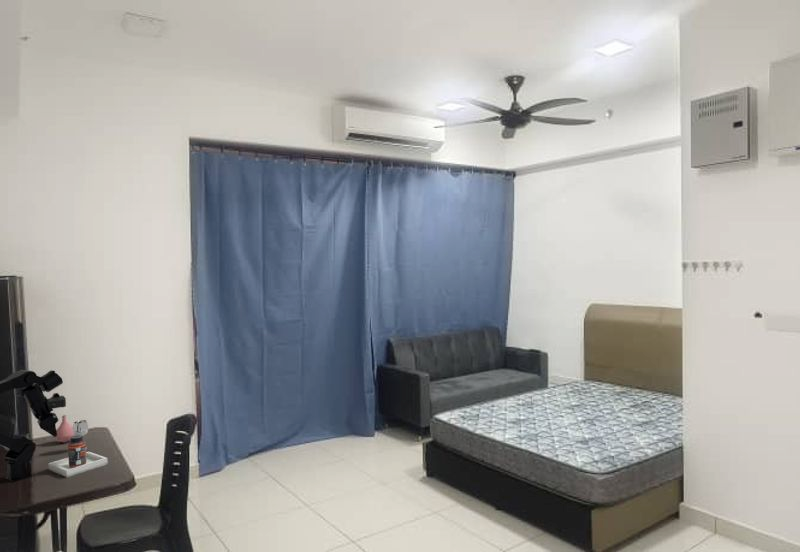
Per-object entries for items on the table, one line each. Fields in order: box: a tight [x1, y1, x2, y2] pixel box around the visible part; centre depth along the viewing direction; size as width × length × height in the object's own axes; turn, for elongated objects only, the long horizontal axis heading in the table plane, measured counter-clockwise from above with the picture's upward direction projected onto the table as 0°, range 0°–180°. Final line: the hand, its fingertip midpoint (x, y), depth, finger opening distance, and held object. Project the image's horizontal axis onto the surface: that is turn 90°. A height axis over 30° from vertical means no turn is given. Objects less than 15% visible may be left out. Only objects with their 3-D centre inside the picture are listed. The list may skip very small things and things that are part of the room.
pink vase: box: [54, 414, 75, 444], centre depth 243 cm, size 8×8×12 cm
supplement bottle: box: [67, 435, 87, 467], centre depth 212 cm, size 6×6×11 cm
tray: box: [48, 451, 109, 478], centre depth 212 cm, size 15×15×2 cm
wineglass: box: [72, 419, 89, 450], centre depth 233 cm, size 6×6×12 cm
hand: (53, 431), depth 214 cm, fingers open, 9 cm apart
